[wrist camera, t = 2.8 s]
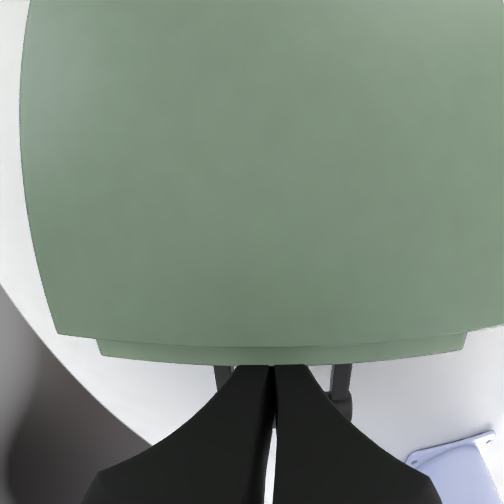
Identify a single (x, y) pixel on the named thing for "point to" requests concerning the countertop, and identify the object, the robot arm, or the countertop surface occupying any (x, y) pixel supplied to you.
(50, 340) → the countertop surface
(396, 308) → the cabinet
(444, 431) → the countertop surface
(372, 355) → the drawer
